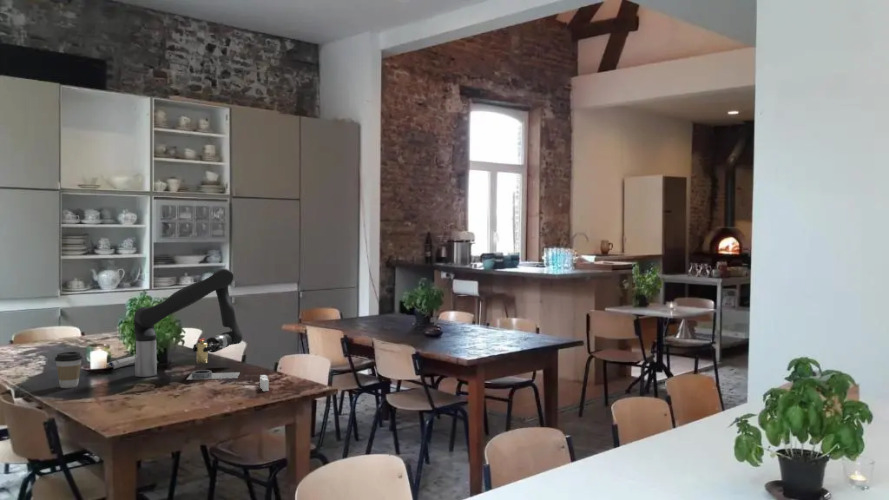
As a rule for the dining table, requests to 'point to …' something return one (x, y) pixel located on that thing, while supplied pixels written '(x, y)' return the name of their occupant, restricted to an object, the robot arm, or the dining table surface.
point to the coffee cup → (68, 368)
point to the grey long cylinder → (122, 362)
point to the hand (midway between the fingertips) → (199, 349)
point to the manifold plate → (211, 375)
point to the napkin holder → (264, 383)
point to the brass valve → (202, 351)
